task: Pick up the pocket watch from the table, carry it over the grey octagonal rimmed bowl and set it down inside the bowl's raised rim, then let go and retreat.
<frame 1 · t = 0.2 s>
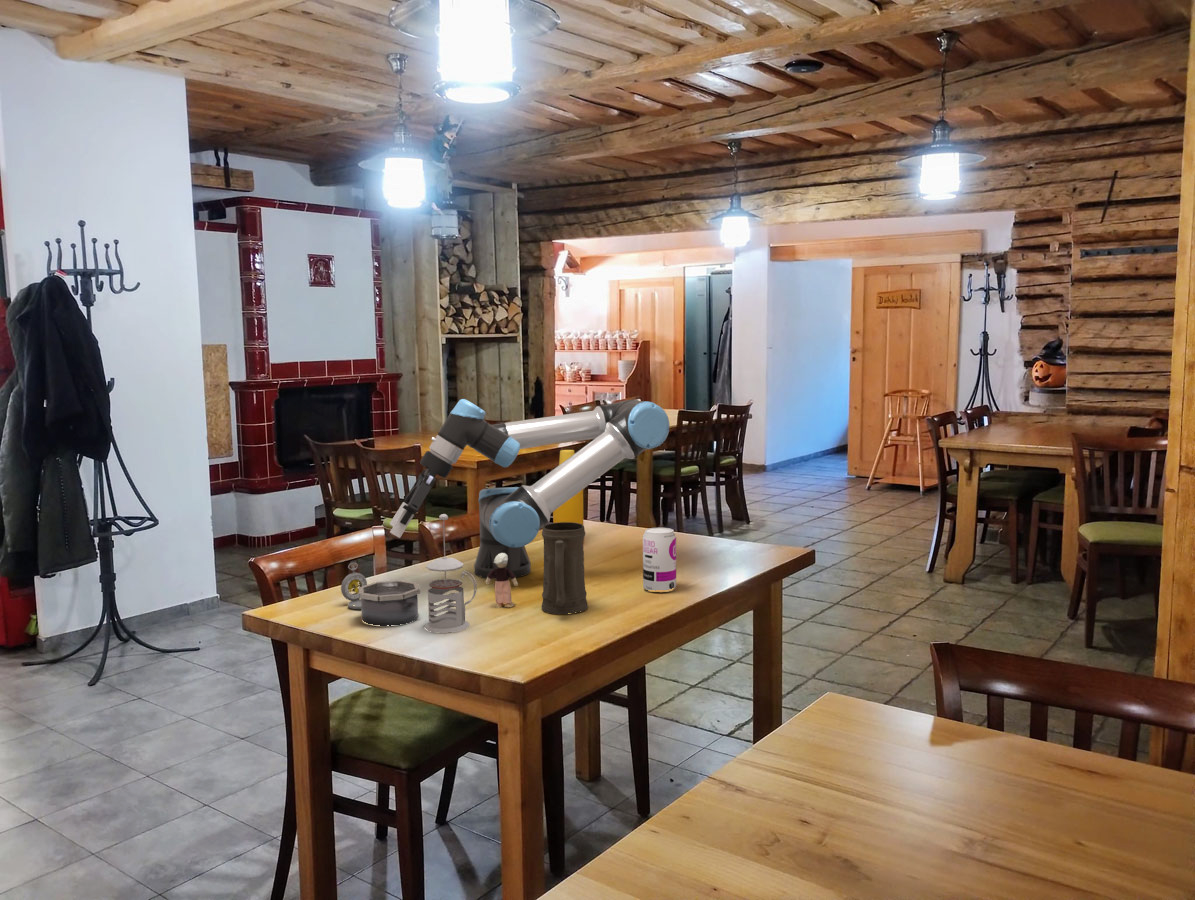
hand: (394, 530, 234), 16 cm above the table, tool tilted 35°, fingers open, 13 cm apart
beer bottle: (568, 546, 288), on the table
french press: (450, 627, 209), on the table
pocket watch: (360, 606, 226), on the table
grey octagonal rimmed bowl: (390, 618, 215), on the table
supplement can: (659, 590, 237), on the table
grandmother figurine: (502, 606, 224), on the table
beer stein: (565, 612, 219), on the table
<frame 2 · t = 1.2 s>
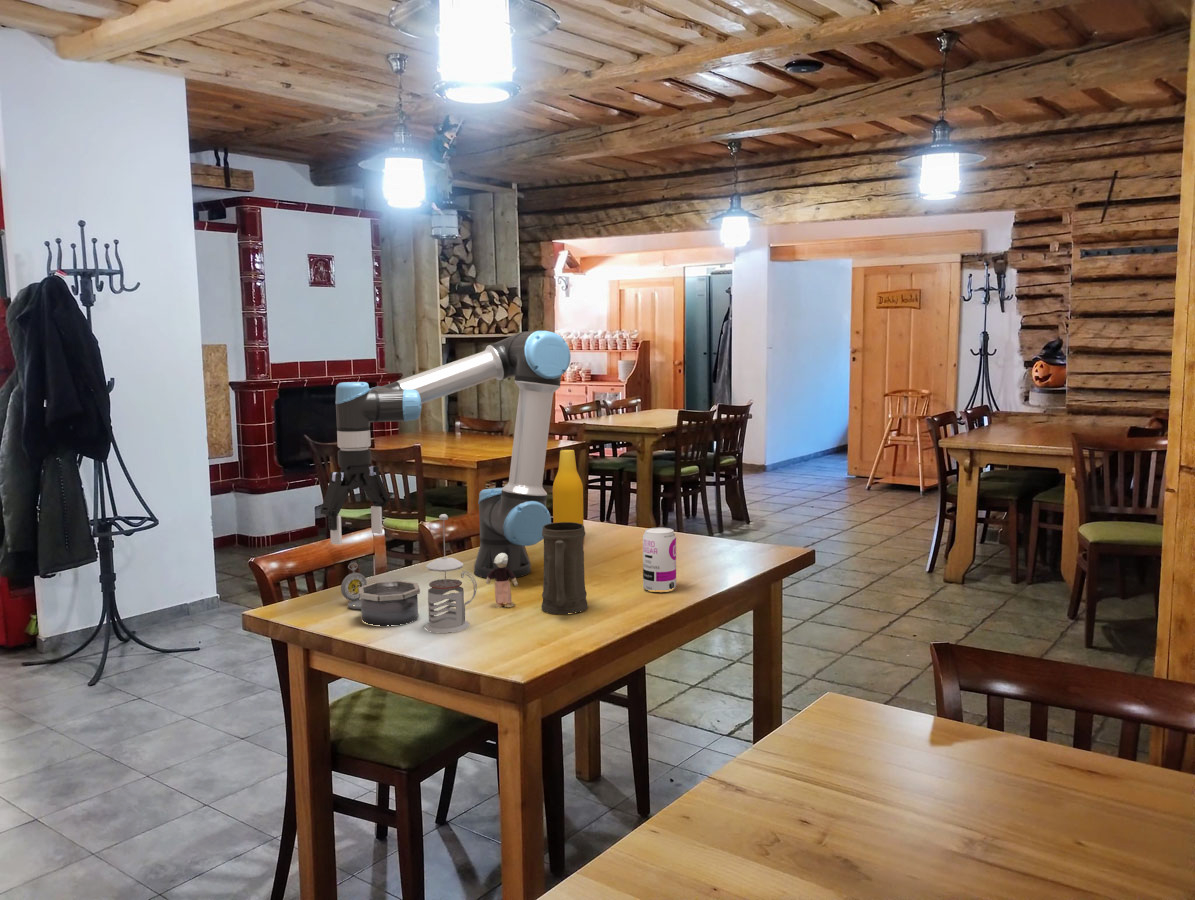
hand: (357, 538, 224), 16 cm above the table, tool pointing down, fingers open, 13 cm apart
nothing on the table moved.
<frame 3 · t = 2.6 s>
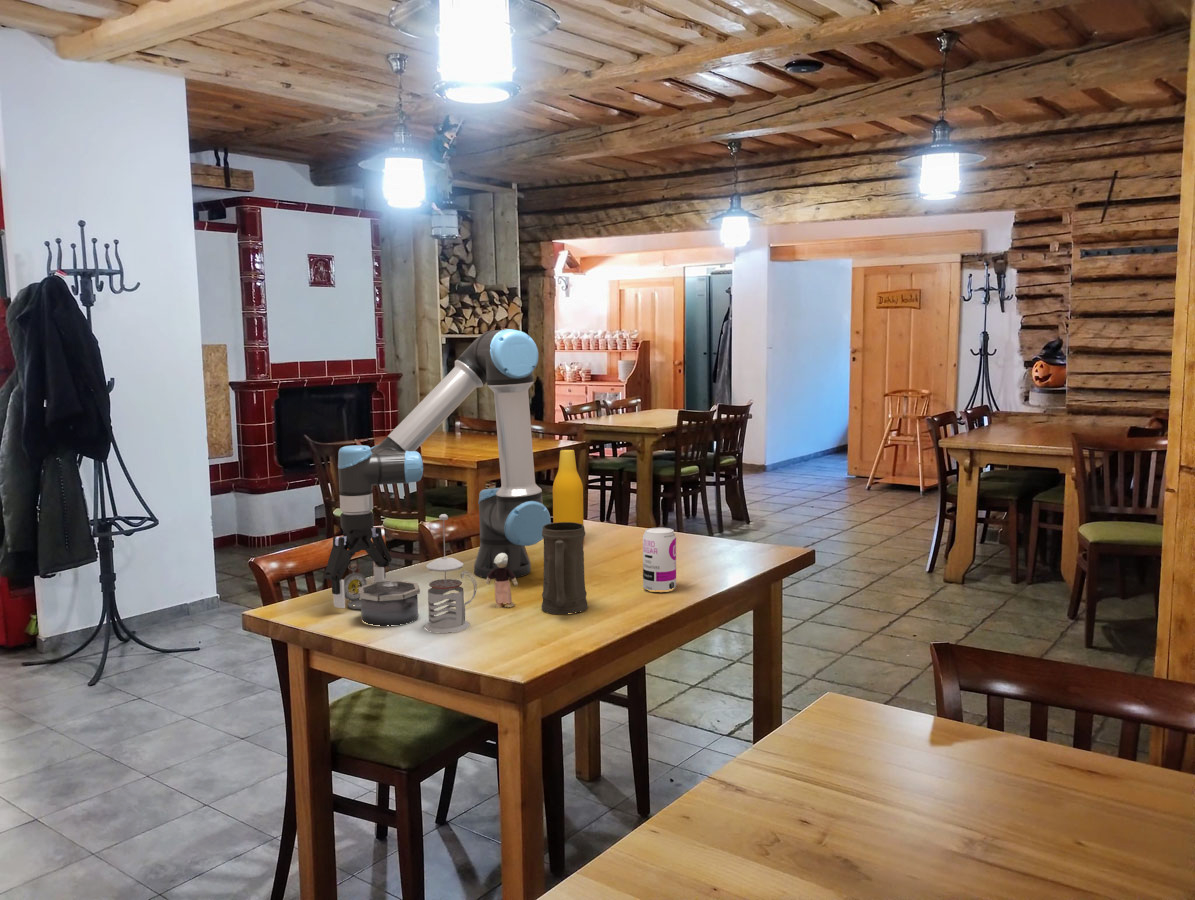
hand: (360, 600, 226), 1 cm above the table, tool pointing down, fingers open, 13 cm apart
nothing on the table moved.
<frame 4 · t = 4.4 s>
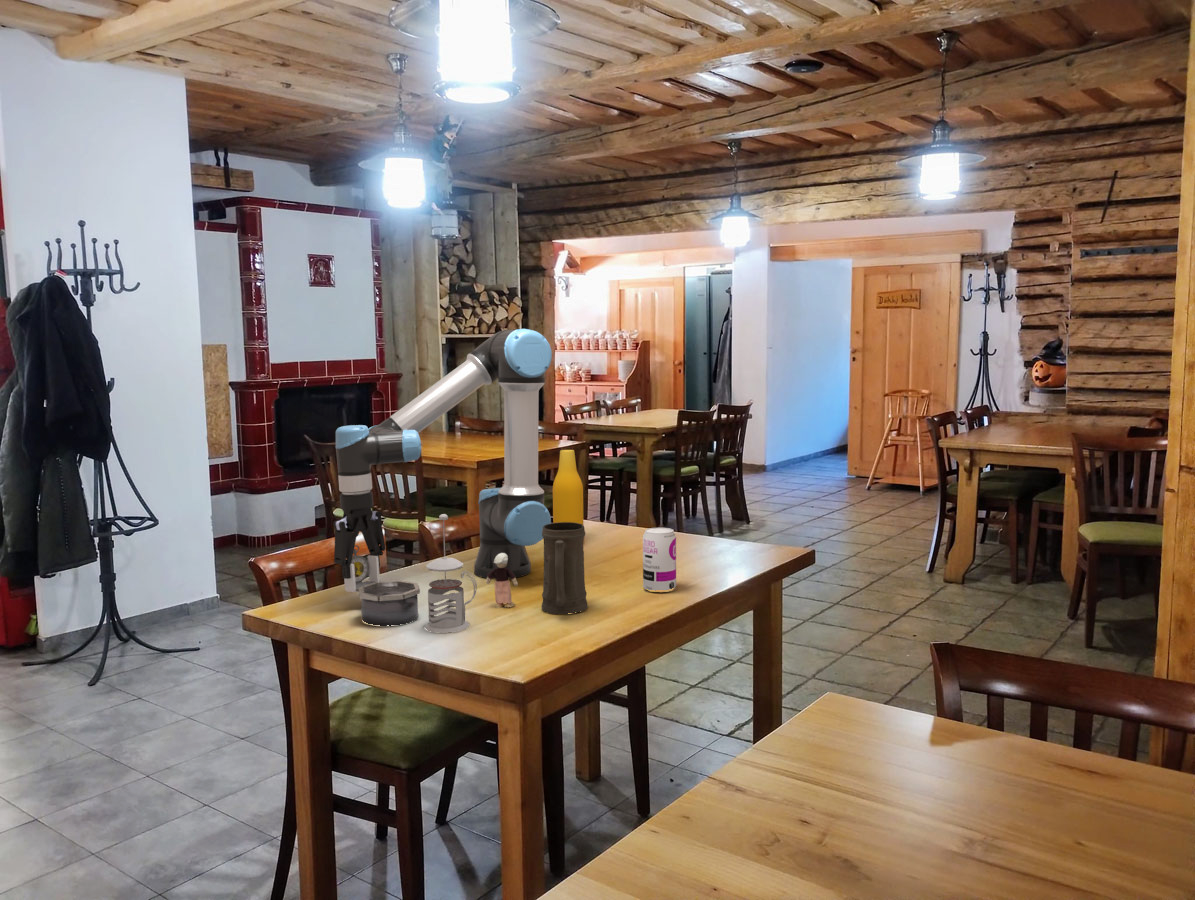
hand: (362, 586, 226), 5 cm above the table, tool pointing down, fingers closed on pocket watch, 7 cm apart
pocket watch: (363, 588, 226), point 4 cm above the table, touching gripper
everything else where it was.
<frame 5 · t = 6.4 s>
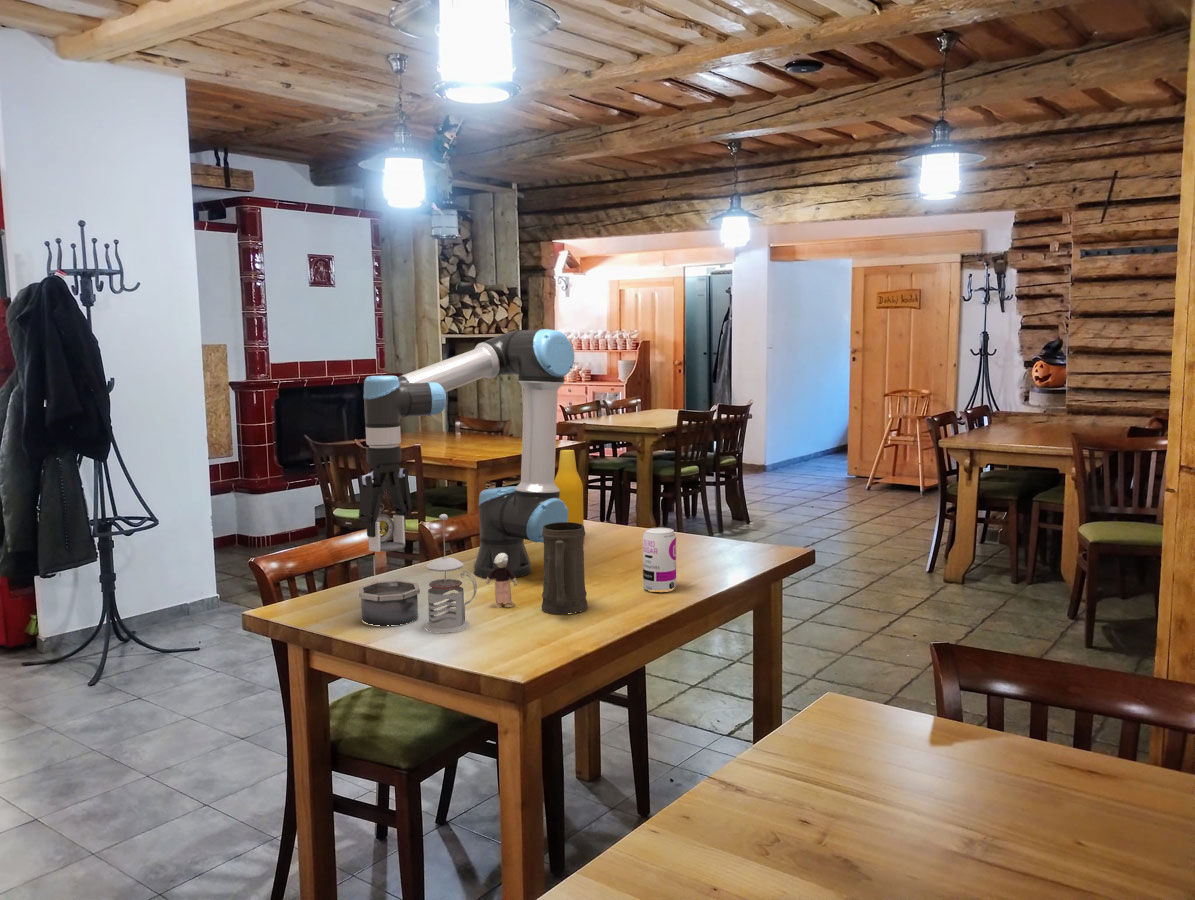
hand: (387, 547, 213), 16 cm above the table, tool pointing down, fingers closed on pocket watch, 7 cm apart
pocket watch: (387, 549, 214), point 16 cm above the table, touching gripper
everything else where it was.
when the fingers open (7 cm above the table, at t = 8.8 s): pocket watch stays where it is, resting on grey octagonal rimmed bowl.
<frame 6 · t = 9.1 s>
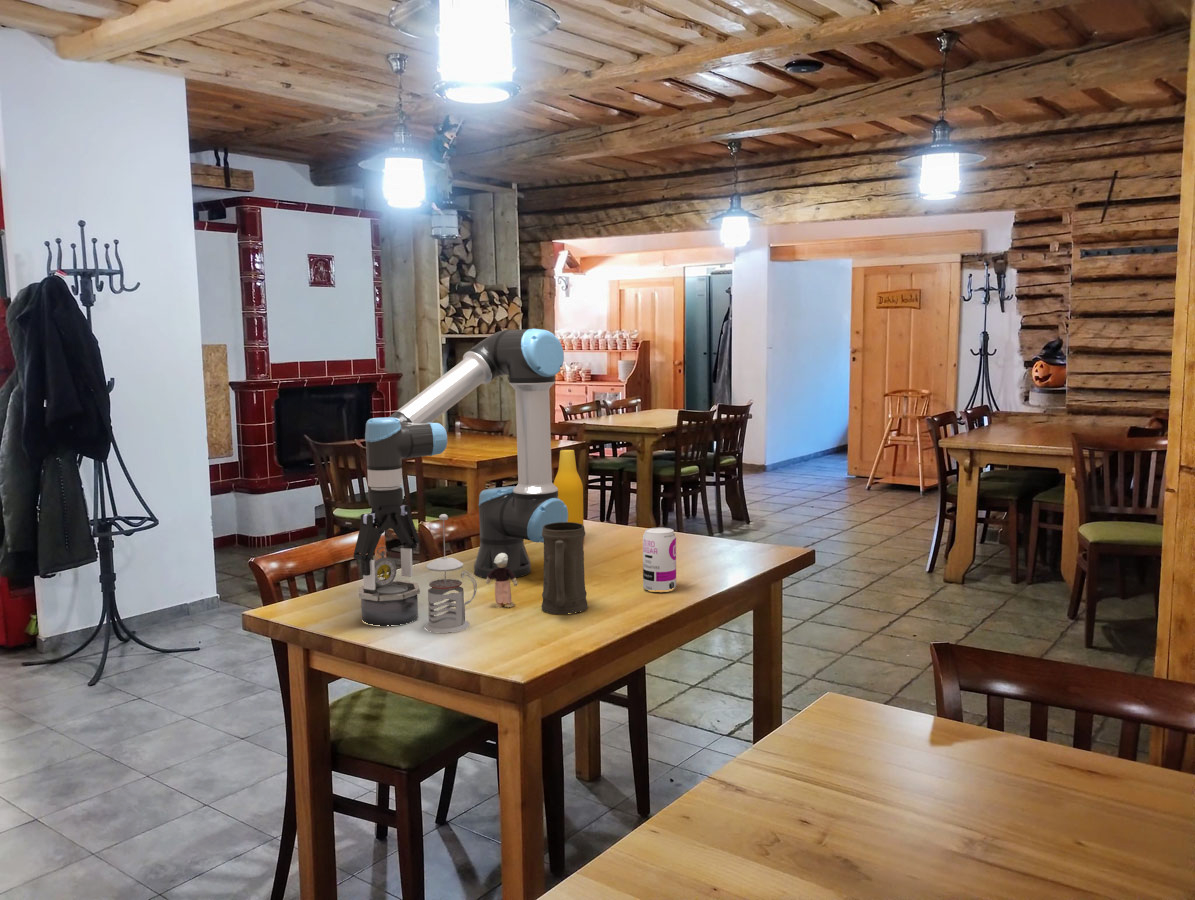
hand: (388, 582, 214), 8 cm above the table, tool pointing down, fingers open, 12 cm apart
pocket watch: (390, 593, 215), point 6 cm above the table, touching grey octagonal rimmed bowl
everything else where it was.
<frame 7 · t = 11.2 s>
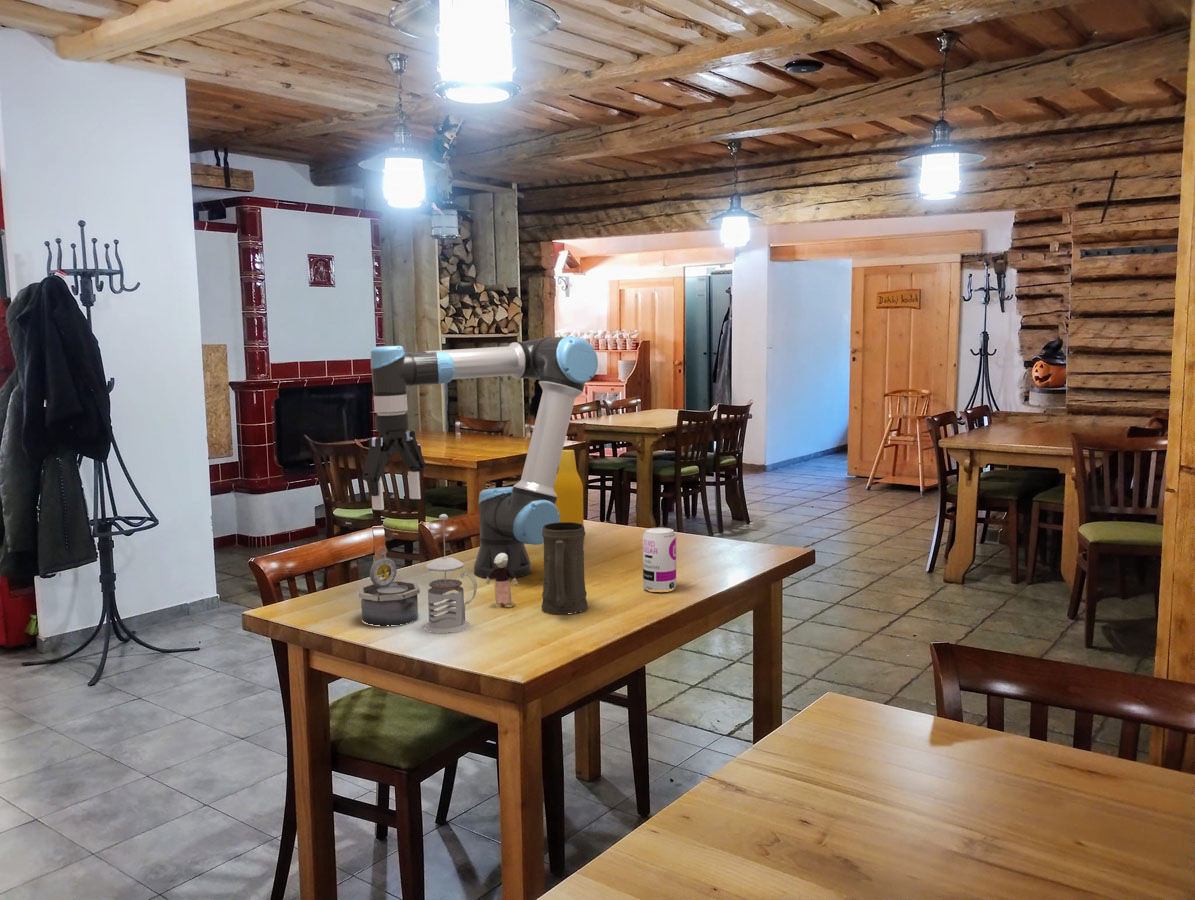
hand: (397, 504, 223), 24 cm above the table, tool pointing down, fingers open, 13 cm apart
nothing on the table moved.
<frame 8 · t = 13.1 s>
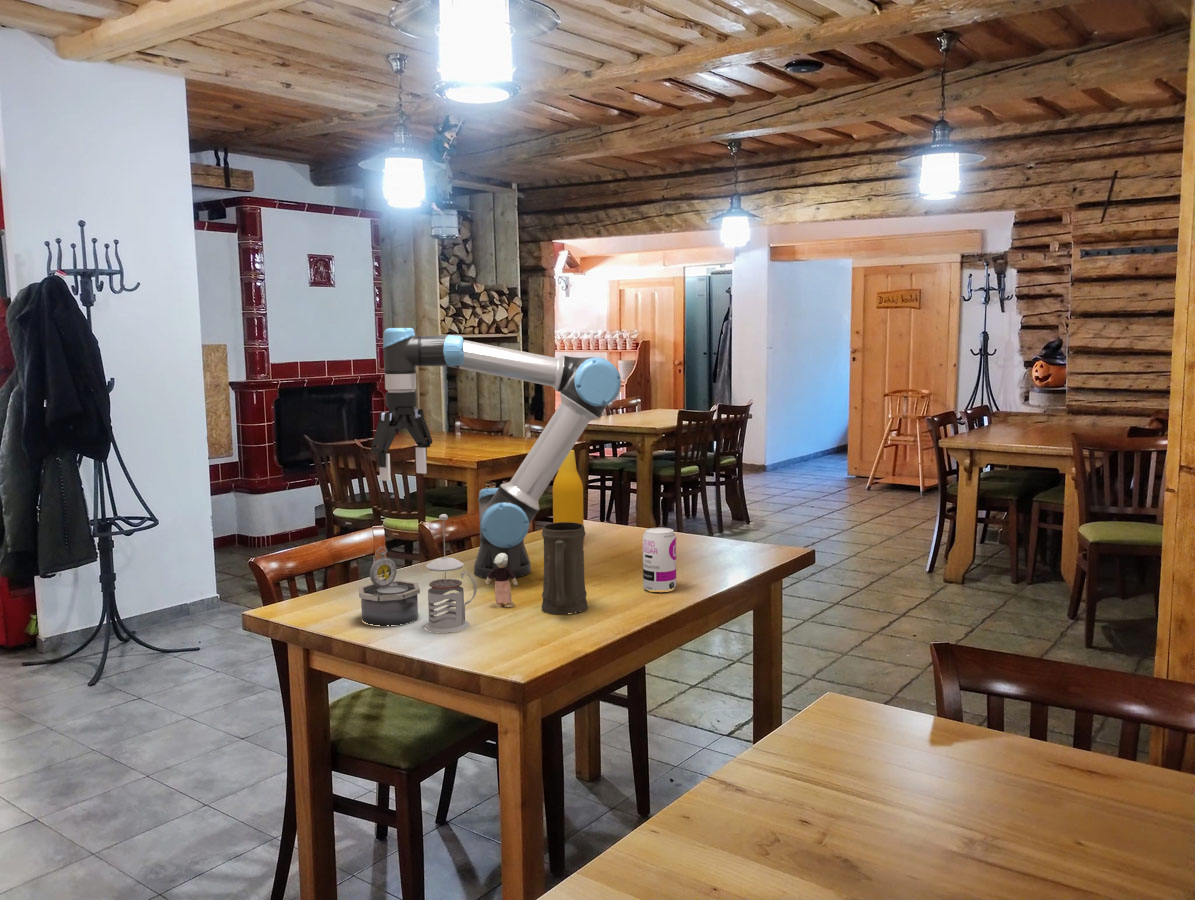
hand: (403, 476, 237), 29 cm above the table, tool pointing down, fingers open, 13 cm apart
nothing on the table moved.
at the end: pocket watch 0.2 cm off-centre on the grey octagonal rimmed bowl, point 5.8 cm above the grey octagonal rimmed bowl's base; the gripper is holding nothing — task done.
